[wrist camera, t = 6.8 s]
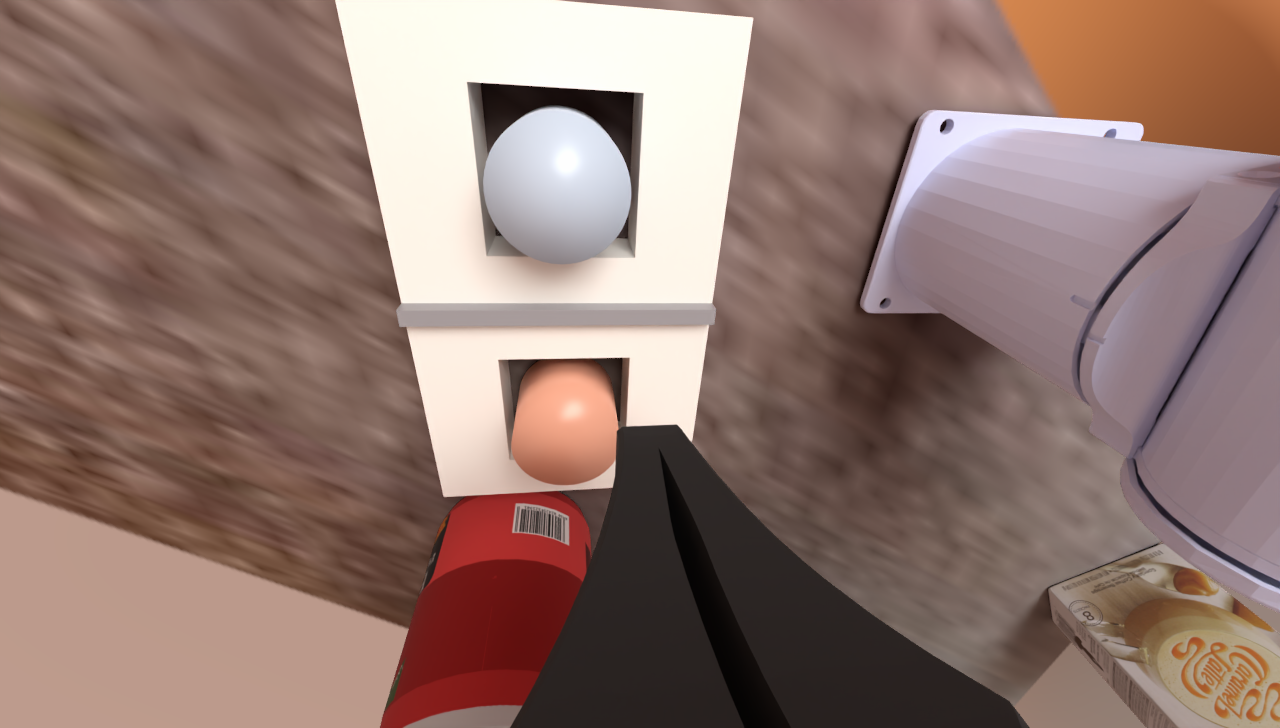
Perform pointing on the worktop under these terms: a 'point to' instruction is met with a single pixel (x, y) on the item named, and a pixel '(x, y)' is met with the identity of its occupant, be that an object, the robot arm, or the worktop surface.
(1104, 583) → the coffee box
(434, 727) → the canned food
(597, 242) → the pale blue rounded piece
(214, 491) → the worktop surface
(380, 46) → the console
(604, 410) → the orange rounded piece
